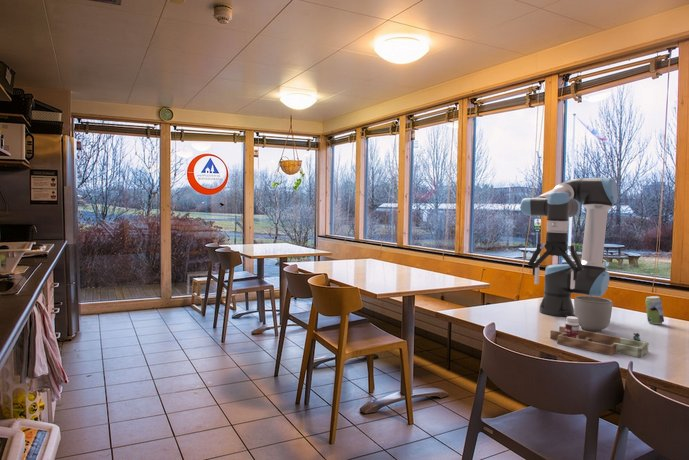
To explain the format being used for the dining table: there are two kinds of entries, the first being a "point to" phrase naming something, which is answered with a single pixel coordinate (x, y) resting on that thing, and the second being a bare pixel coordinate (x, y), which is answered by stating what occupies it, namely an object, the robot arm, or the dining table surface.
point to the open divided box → (616, 342)
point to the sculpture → (636, 336)
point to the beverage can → (654, 310)
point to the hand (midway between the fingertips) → (554, 286)
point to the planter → (592, 312)
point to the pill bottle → (572, 327)
